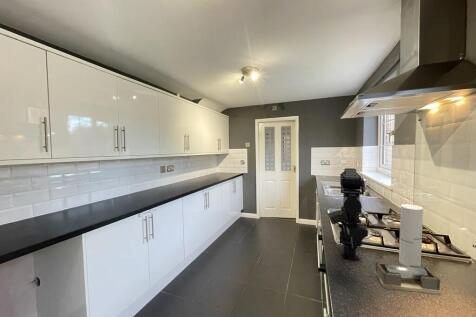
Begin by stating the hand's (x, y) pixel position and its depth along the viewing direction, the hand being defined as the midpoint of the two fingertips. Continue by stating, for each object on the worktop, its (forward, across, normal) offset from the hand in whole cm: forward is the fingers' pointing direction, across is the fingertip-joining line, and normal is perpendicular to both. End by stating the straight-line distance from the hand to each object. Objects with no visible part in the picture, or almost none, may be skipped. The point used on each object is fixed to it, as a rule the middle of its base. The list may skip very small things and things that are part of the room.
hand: (350, 243), depth 83 cm
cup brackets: (+11, +4, +17) cm, 21 cm away
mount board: (+12, +4, +18) cm, 22 cm away
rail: (+8, +4, +17) cm, 19 cm away
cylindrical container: (+12, -10, +26) cm, 30 cm away
